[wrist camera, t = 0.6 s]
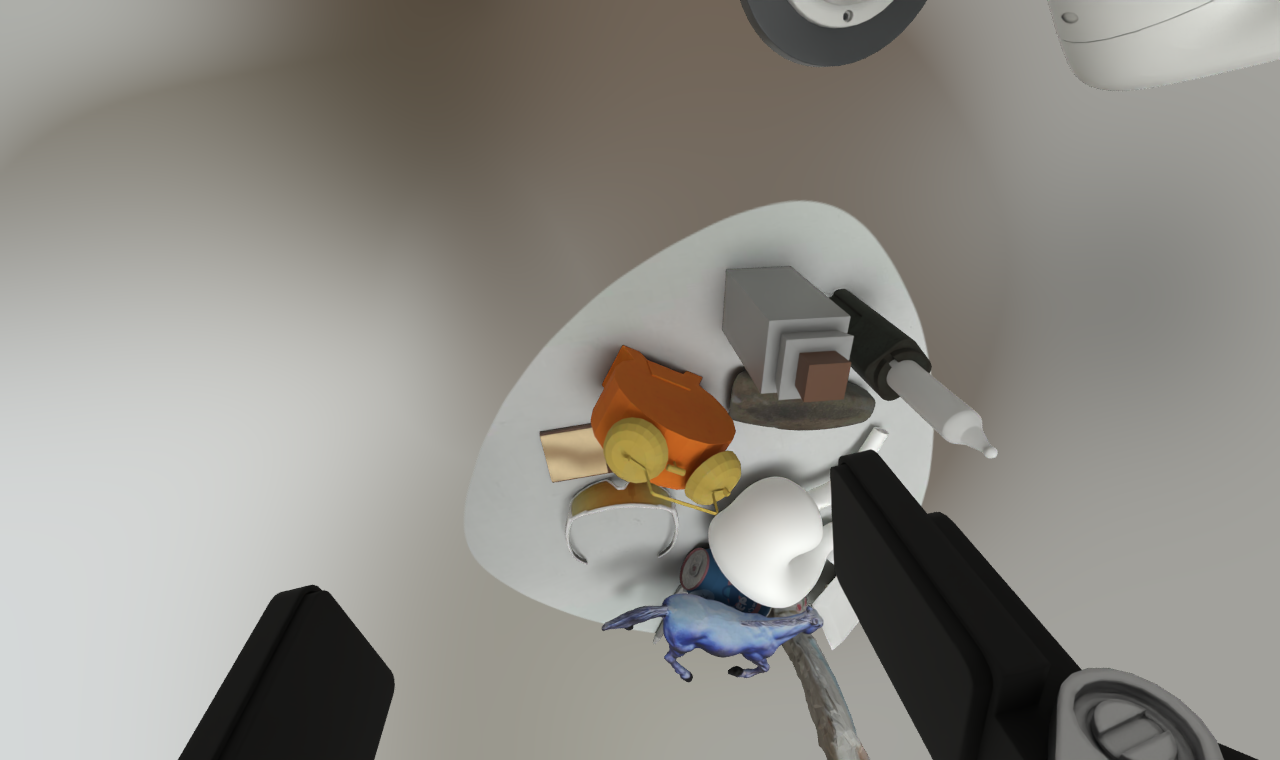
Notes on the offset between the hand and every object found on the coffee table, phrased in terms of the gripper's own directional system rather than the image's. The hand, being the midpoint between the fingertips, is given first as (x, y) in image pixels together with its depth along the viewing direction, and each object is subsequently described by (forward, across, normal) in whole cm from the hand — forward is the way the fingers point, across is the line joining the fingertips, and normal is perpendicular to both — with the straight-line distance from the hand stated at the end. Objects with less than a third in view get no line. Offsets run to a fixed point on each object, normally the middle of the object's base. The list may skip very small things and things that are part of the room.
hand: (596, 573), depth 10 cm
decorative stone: (+44, -18, +28) cm, 56 cm away
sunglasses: (+44, +6, +41) cm, 61 cm away
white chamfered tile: (+40, -24, +64) cm, 79 cm away
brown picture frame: (+44, +5, +29) cm, 53 cm away
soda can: (+40, -10, +59) cm, 72 cm away
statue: (+44, -14, +61) cm, 77 cm away
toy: (+36, +1, +60) cm, 70 cm away
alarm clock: (+44, -2, +22) cm, 50 cm away
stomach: (+44, -16, +44) cm, 65 cm away
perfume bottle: (+44, -15, +16) cm, 49 cm away
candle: (+44, -24, +20) cm, 54 cm away
